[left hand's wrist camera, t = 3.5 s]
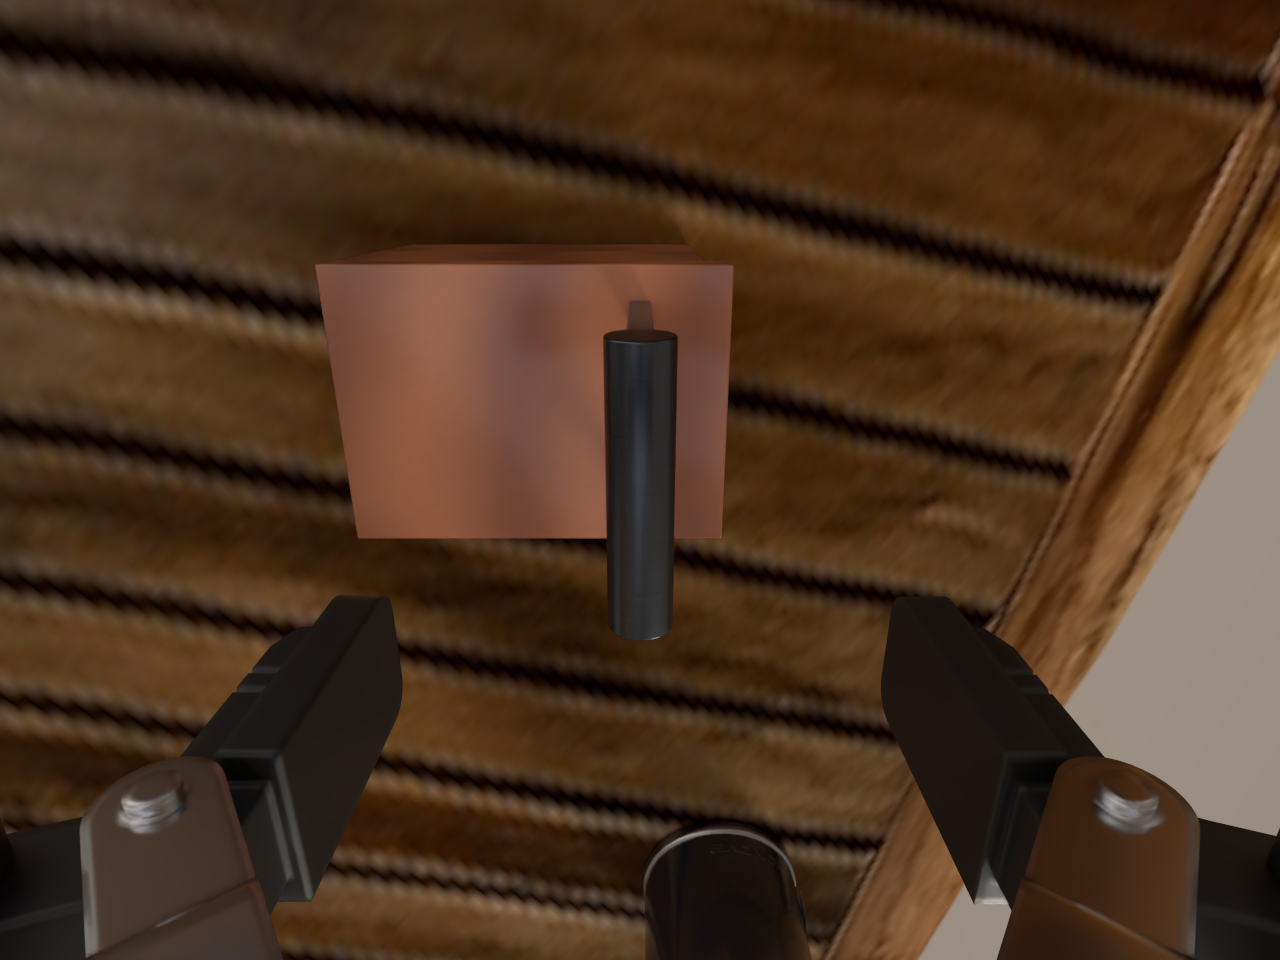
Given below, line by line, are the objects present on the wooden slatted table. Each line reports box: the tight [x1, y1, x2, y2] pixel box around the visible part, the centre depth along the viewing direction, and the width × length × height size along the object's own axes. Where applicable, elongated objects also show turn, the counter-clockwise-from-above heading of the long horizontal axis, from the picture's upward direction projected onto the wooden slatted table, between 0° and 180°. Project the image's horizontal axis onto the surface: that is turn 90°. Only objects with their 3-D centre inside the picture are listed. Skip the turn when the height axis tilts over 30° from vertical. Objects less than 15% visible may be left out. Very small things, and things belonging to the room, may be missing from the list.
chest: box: [335, 244, 704, 261], centre depth 29 cm, size 12×9×9 cm
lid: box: [315, 261, 734, 641], centre depth 21 cm, size 13×9×9 cm
